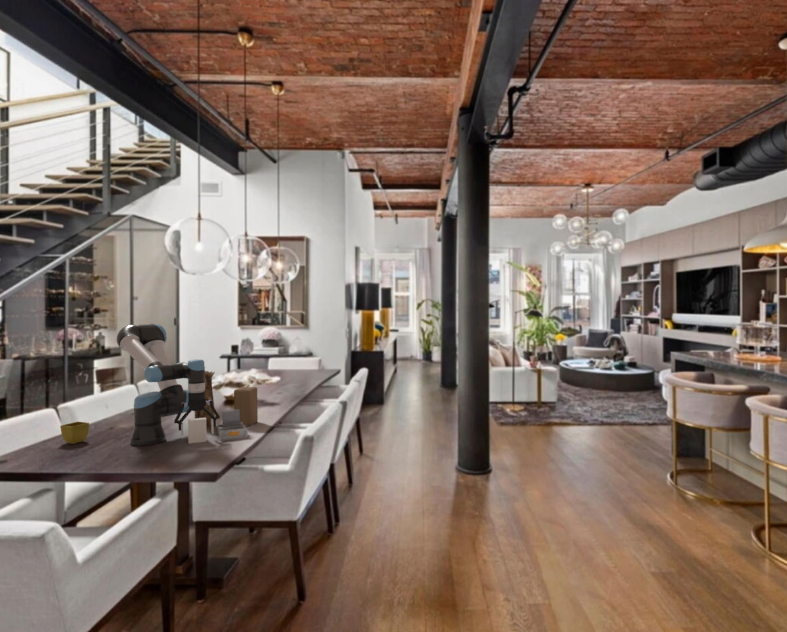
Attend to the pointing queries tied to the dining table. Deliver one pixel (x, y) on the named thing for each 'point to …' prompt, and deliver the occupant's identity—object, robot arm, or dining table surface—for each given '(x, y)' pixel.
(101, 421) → the dining table surface
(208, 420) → the vase
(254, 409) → the block
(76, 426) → the flower pot
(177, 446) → the dining table surface
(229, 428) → the frame
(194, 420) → the panel
